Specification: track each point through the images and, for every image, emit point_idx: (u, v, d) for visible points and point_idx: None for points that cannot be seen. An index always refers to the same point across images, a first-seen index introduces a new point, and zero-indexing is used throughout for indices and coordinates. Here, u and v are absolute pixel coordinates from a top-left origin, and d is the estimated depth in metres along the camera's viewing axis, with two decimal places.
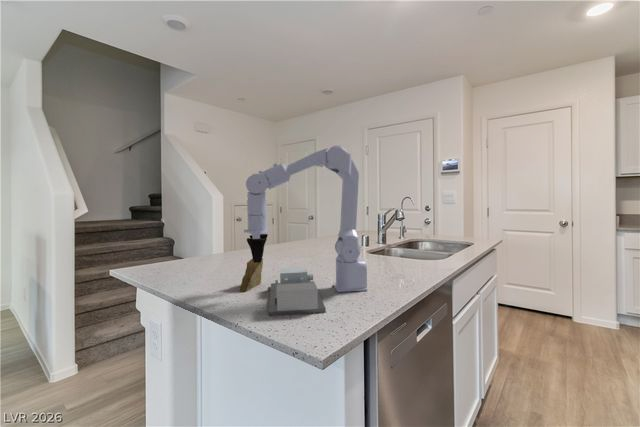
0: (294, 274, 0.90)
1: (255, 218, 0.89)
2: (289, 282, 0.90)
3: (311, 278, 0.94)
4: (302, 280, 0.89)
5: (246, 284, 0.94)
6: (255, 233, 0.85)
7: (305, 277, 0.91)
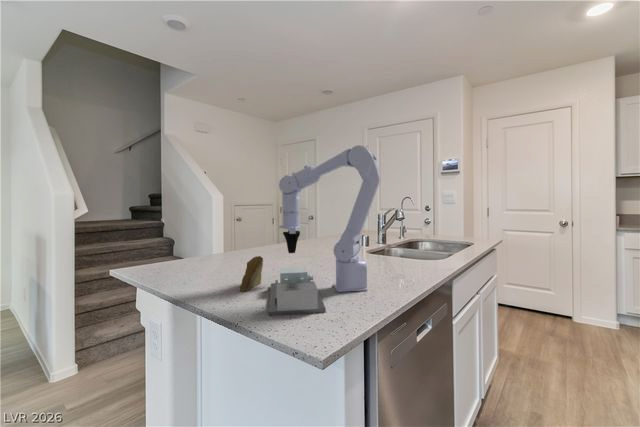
0: (294, 274, 0.90)
1: (290, 215, 0.99)
2: (289, 282, 0.90)
3: (311, 278, 0.94)
4: (302, 280, 0.89)
5: (246, 284, 0.94)
6: (291, 228, 0.95)
7: (305, 277, 0.91)
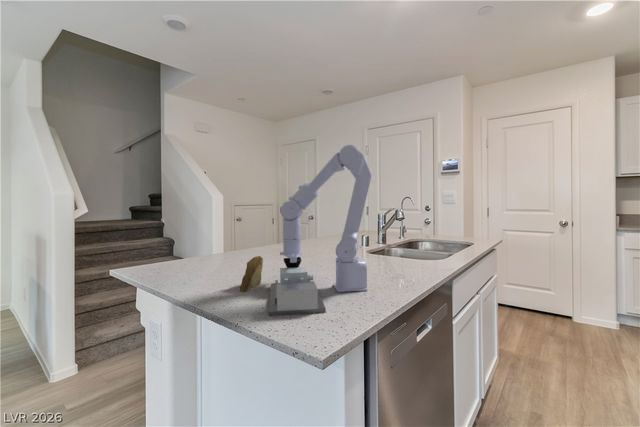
0: (294, 274, 0.90)
1: (291, 242, 0.96)
2: (289, 282, 0.90)
3: (311, 278, 0.94)
4: (302, 280, 0.89)
5: (246, 284, 0.94)
6: (292, 257, 0.92)
7: (305, 277, 0.91)
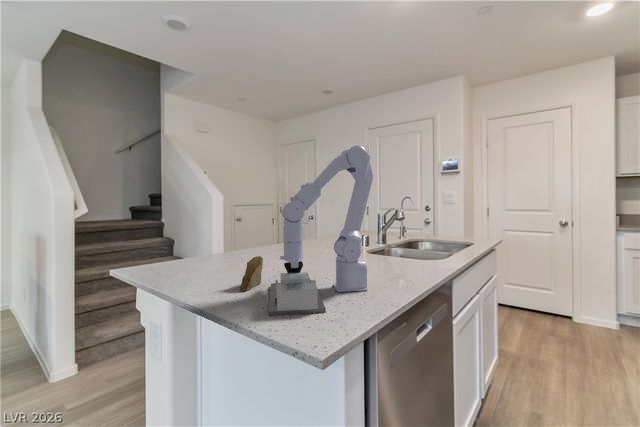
0: (295, 280, 0.84)
1: (292, 246, 0.89)
2: None
3: None
4: None
5: (246, 284, 0.94)
6: (294, 262, 0.85)
7: None
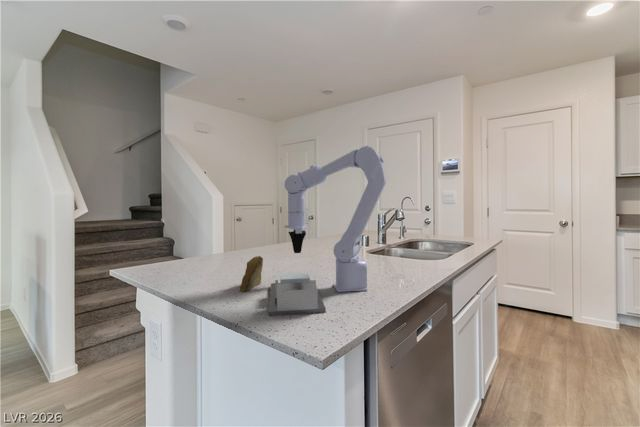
0: (295, 280, 0.84)
1: (296, 215, 0.99)
2: None
3: None
4: None
5: (246, 284, 0.94)
6: (298, 228, 0.94)
7: None
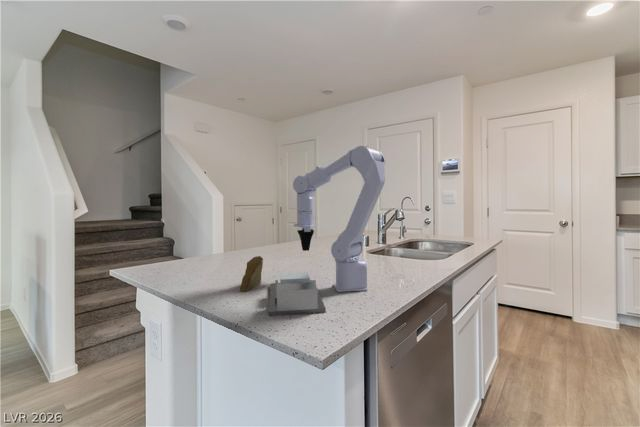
0: (295, 280, 0.84)
1: (304, 214, 1.03)
2: None
3: None
4: None
5: (246, 284, 0.94)
6: (306, 227, 0.99)
7: None
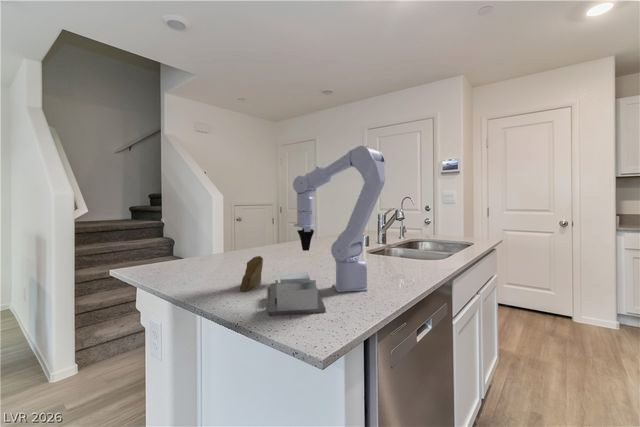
0: (295, 280, 0.84)
1: (304, 214, 1.03)
2: None
3: None
4: None
5: (246, 284, 0.94)
6: (306, 227, 0.99)
7: None
